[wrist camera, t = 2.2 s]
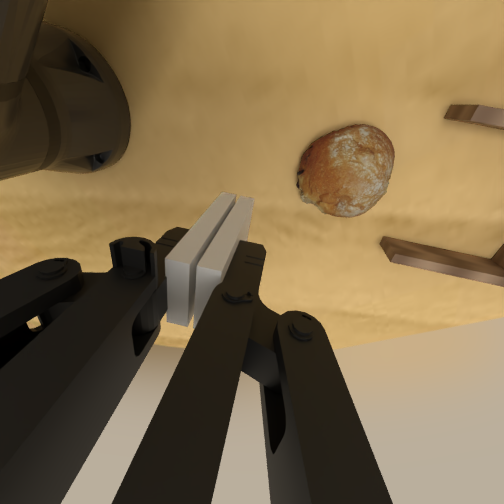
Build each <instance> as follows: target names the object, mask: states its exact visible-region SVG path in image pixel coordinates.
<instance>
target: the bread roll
mask: <svg viewBox="0 0 504 504" xmlns="http://www.w3.org/2000/svg"><path fill="white" fill-rule="evenodd" d="M394 157H395V155H394V148H393V145H392V142H391V141H390V139H389V138H388V137H387V135H386V134H385V133H384V132H382V131H381V130H380V129H378V128H376V127H373V126H369V125H364V124H362V125H356V124H355V125H353V126H347V127H346V128H344V129H340V130H339V131H333V132H332V133H330V134H327V135H326V136H324V137H321V138H320V139H318V140H316V141H314V142H313V143H312V144H311V145H310V147H309V149H308V150H307V151H306V152H305V153H304V154H303V156H302V158H301V163H300V168H299V172H298V173H297V176H298V183H297V188H299V189H300V190H302V191H303V192H302V193H301V196H300V197H301V199H302V201H303V202H305V203H312V204H314V205H315V206H317V207H318V208H319V210H320V211H321V212H322V213H324V214H330V215H333V216H337V217H355V216H359V215H361V214H363V213H365V212H367V211H368V210H369V209H371V208H372V207H373V206H374V205H375V204H376V203H377V201H379V200H380V199H381V198H382V196H383V195H384V194H385V193H386V192H387V187H388V184H389V182H388V180H389V179H390V177H391V173H392V169H393V163H394Z"/></svg>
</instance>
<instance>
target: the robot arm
mask: <svg viewBox="0 0 504 504" xmlns="http://www.w3.org/2000/svg"><path fill="white" fill-rule="evenodd" d="M47 2H48V0H0V181H1V180H4V179H8V178H12V177H16V176H20V175H24V174H27V173H31V172H35V171H39V170H49V171H59V172H69V173H80V174H84V173H92V172H96V171H99V170H102V169H105V168H108V167H110V166H112V165H113V164H115V163H116V162H117V161H118V160H119V159H120V158H121V157H122V155H123V154H124V152H125V150H126V147H127V144H128V141H129V136H130V116H129V110H128V105H127V101H126V98H125V95H124V92H123V90H122V87H121V85H120V83H119V81H118V79H117V77H116V75H115V74H114V72H113V70H112V69H111V67H110V66H109V64H108V63H107V62H106V60H105V59H104V58H103V57H102V56H101V54H100V53H99V52H98V51H97V50H96V49H95V48H94V47H93V46H92V45H91V44H89V43H88V42H87V41H86V40H84V39H83V38H81V37H80V36H78V35H77V34H75V33H73V32H71V31H69V30H67V29H64V28H61V27H58V26H55V25H52V24H49V23H46V22H42V19H43V16H44V12H45V9H46V5H47ZM235 200H236V195H235V194H231V193H226V192H221V194H220V195H219V196H218V197H217V198H216V199H215V201H214V202H213V203H212V204H211V205H210V206H209V208H208V209H207V210H206V211H205V212H204V213H203V215H202V216H201V217H200V218H199V219H198V220H197V222H196V223H195V224H194V225H193V226H192V227H191V229H185V228H181V227H176V228H173V229H171V230H169V231H167V232H166V233H165V234H164V235H163V236H162V237H161V238H160V239H159V240H158V241H157V242H156V244H155V243H153V242H152V241H151V240H148V239H146V238H141V237H125V238H121V239H118V240H115V241H113V242H111V243H109V246H110V252H111V258H112V264H113V268H111V269H110V270H109V271H108V272H106V273H92V272H82V270H81V266H80V263H78V262H77V261H76V260H73V259H69V258H54V259H48V260H44V261H41V262H38V263H35V264H33V265H31V266H29V267H26V268H24V269H22V270H20V271H18V272H15V273H13V274H11V275H9V276H6V277H4V278H2V279H0V504H61V502H62V500H63V499H64V497H65V495H66V493H67V492H68V490H69V488H70V486H71V485H72V483H73V481H74V479H75V478H76V476H77V474H78V473H79V471H80V469H81V468H82V466H83V464H84V462H85V461H86V459H87V457H88V456H89V454H90V452H91V450H92V449H93V447H94V445H95V444H96V442H97V440H98V438H99V437H100V435H101V433H102V431H103V430H104V428H105V426H106V424H107V423H108V421H109V419H110V417H111V416H112V414H113V412H114V411H115V409H116V407H117V406H118V404H119V402H120V400H121V399H122V397H123V395H124V394H125V392H126V390H127V388H128V387H129V385H130V383H131V381H132V379H133V378H134V376H135V375H136V373H137V371H138V369H139V368H140V366H141V364H142V363H143V361H144V359H145V357H146V356H147V354H148V352H149V350H150V349H151V347H152V345H153V344H154V342H155V340H156V338H157V337H158V335H159V332H160V329H161V326H160V321H161V319H162V317H163V316H164V314H165V313H166V312H167V322H170V323H174V324H178V325H182V326H186V327H188V325H189V323H190V321H191V319H192V317H193V315H194V326H193V328H194V331H193V333H192V336H191V338H190V340H189V342H188V344H187V346H186V348H185V350H184V353H183V355H182V357H181V359H180V361H179V363H178V365H177V367H176V369H175V372H174V374H173V376H172V378H171V380H170V382H169V384H168V386H167V388H166V390H165V392H164V395H163V397H162V399H161V401H160V403H159V405H158V407H157V410H156V411H155V414H154V416H153V418H152V420H151V422H150V424H149V426H148V428H147V431H146V433H145V435H144V437H143V439H142V441H141V443H140V445H139V448H138V449H137V451H136V454H135V456H134V458H133V460H132V462H131V464H130V466H129V468H128V471H127V472H126V475H125V477H124V479H123V481H122V483H121V486H120V487H119V489H118V491H117V494H116V496H115V498H114V500H113V502H112V504H211V501H212V497H213V492H214V488H215V484H216V479H217V475H218V471H219V466H220V462H221V457H222V452H223V448H224V444H225V439H226V435H227V431H228V426H229V422H230V417H231V413H232V408H233V404H234V400H235V395H236V390H237V386H238V382H239V377H240V373H241V371H242V372H244V373H245V374H247V375H249V376H250V377H252V378H253V379H255V380H257V381H258V382H260V394H261V404H262V416H263V426H264V436H265V447H266V458H267V469H268V478H269V490H270V500H271V504H393V503H392V500H391V498H390V495H389V493H388V490H387V487H386V485H385V482H384V480H383V477H382V475H381V472H380V470H379V467H378V464H377V462H376V459H375V457H374V454H373V452H372V449H371V447H370V444H369V441H368V439H367V436H366V434H365V431H364V429H363V426H362V424H361V421H360V418H359V416H358V413H357V411H356V409H355V406H354V403H353V401H352V398H351V395H350V393H349V391H348V388H347V385H346V383H345V380H344V378H343V375H342V372H341V370H340V367H339V365H338V362H337V360H336V357H335V355H334V352H333V349H332V347H331V344H330V342H329V339H328V337H327V334H326V332H325V329H324V328H323V326H322V325H321V323H320V322H319V321H318V320H317V319H316V318H314V317H313V316H311V315H309V314H307V313H305V312H301V311H287V312H285V313H284V314H282V315H279V314H277V313H276V312H274V311H272V310H270V309H269V308H267V307H266V306H265V305H264V304H263V303H262V301H261V300H260V298H259V295H258V293H259V286H260V281H261V276H262V271H263V266H264V261H265V256H266V250H265V248H264V246H263V245H261V244H257V243H252V242H248V241H247V238H248V233H249V227H250V221H251V216H252V210H253V204H254V198H249V197H245V196H240V197H239V198H238V200H237V202H236V203H235ZM36 316H38V319H39V321H40V323H41V325H40V326H38V327H36V328H32V329H29V327H28V325H27V323H26V322H28V321H29V320H31V319H32V318H34V317H36Z"/></svg>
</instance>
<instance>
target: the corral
mask: <svg viewBox="0 0 504 504" xmlns="http://www.w3.org/2000/svg"><path fill="white" fill-rule="evenodd" d="M444 118H445V119H451V120H456V121H461V122H466V123H472V124H477V125H482V126H487V127H493V128H498V129H503V130H504V109H499V108H493V107H488V106H483V105H451V106H450V108H449V110H448V111H447V113H446V115H445V117H444ZM380 245H381V247H382V249H383V250H384V252H385V254H386V255H387V257H388V259H389V260H390V262H393V263H397V264H402V265H406V266H411V267H415V268H420V269H424V270H429V271H434V272H438V273H443V274H447V275H452V276H456V277H461V278H465V279H470V280H475V281H479V282H484V283H488V284H493V285H497V286H502V287H504V244H503V246H502V247H501V248H500V249H499V250H498V252H497V253H496V254H495V255H494V257H493V258H492V259H487V258H482V257H477V256H473V255H468V254H463V253H459V252H454V251H449V250H445V249H440V248H435V247H431V246H426V245H422V244H417V243H412V242H408V241H403V240H398V239H394V238H389V237H383V239H382V240H381V242H380Z"/></svg>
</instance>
